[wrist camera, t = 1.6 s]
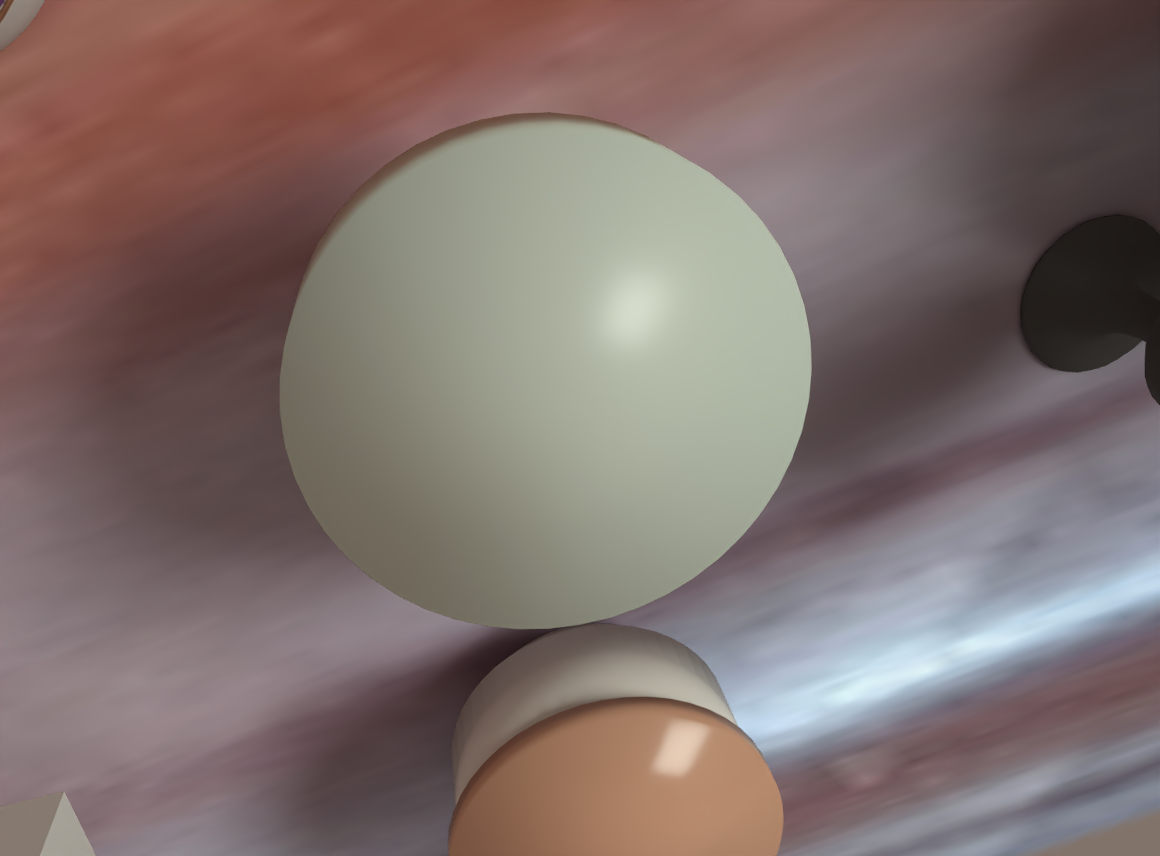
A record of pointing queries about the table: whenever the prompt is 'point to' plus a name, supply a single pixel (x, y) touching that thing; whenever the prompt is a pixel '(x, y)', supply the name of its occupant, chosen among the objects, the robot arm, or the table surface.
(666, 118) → the table surface
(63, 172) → the table surface
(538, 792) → the bowl
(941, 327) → the table surface
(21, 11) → the milk bottle
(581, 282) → the lid
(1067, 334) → the sundae
